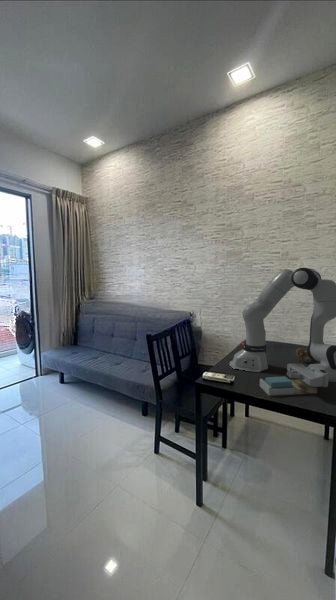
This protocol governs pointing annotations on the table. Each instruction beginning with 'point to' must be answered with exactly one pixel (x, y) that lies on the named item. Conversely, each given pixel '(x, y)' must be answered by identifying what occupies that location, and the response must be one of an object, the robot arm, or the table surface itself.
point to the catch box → (276, 391)
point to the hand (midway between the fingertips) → (288, 374)
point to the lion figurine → (301, 354)
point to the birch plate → (303, 387)
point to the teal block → (278, 382)
